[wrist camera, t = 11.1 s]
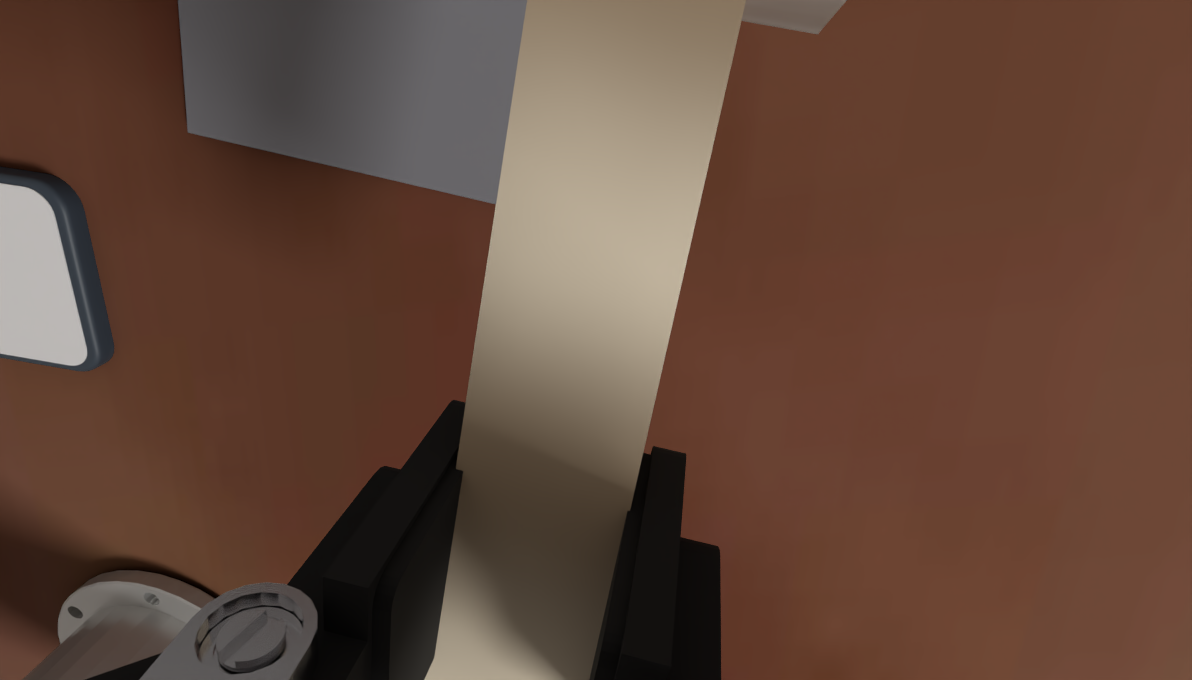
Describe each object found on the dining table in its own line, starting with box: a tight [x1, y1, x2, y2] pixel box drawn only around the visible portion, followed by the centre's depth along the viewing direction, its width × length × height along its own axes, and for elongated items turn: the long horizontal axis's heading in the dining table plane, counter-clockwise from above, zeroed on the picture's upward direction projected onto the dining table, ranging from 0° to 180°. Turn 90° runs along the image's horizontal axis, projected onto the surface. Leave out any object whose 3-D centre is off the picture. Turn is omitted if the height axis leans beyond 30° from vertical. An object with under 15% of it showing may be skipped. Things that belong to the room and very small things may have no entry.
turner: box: [424, 0, 847, 680], centre depth 10 cm, size 15×5×5 cm, turn 171°
